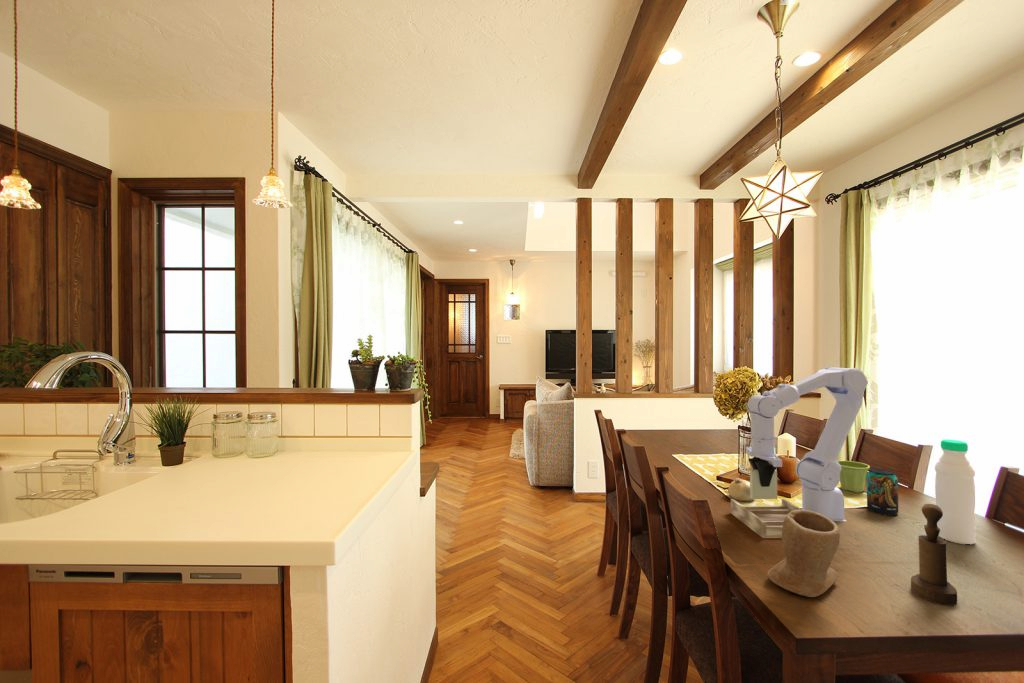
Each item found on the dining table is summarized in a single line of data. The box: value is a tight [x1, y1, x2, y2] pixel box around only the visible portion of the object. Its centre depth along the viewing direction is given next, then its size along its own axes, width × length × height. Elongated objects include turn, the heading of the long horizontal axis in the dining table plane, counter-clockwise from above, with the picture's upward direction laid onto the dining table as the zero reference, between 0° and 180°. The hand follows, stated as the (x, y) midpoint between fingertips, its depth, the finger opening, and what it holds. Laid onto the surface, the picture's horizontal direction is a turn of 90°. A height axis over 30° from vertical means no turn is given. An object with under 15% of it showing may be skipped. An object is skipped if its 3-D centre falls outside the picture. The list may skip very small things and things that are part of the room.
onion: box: [727, 477, 755, 502], centre depth 136 cm, size 8×8×7 cm
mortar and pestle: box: [910, 503, 958, 606], centre depth 84 cm, size 7×6×18 cm
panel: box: [749, 469, 778, 500], centre depth 122 cm, size 1×7×8 cm, turn 90°
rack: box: [730, 498, 803, 539], centre depth 117 cm, size 16×16×5 cm
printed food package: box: [866, 467, 899, 516], centre depth 126 cm, size 7×7×12 cm
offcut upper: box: [755, 514, 786, 521], centre depth 117 cm, size 4×10×1 cm, turn 86°
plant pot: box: [837, 460, 871, 493], centre depth 145 cm, size 9×9×9 cm
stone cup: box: [767, 510, 841, 598], centre depth 89 cm, size 15×12×15 cm
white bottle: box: [934, 439, 977, 545], centre depth 108 cm, size 7×7×25 cm
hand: (763, 485), depth 122 cm, fingers closed on panel, 1 cm apart
